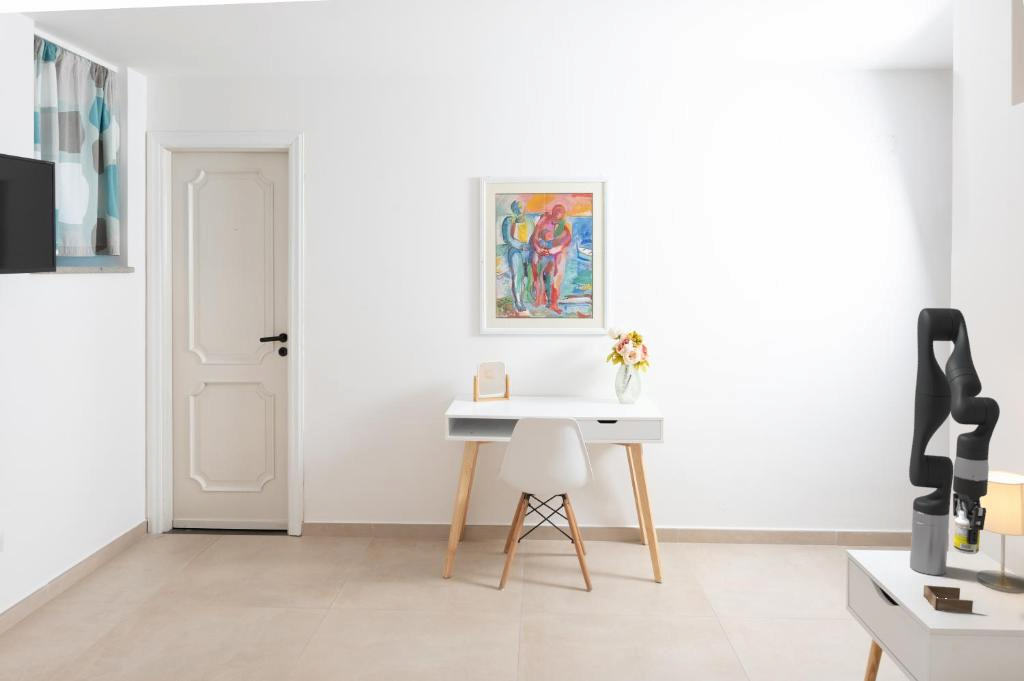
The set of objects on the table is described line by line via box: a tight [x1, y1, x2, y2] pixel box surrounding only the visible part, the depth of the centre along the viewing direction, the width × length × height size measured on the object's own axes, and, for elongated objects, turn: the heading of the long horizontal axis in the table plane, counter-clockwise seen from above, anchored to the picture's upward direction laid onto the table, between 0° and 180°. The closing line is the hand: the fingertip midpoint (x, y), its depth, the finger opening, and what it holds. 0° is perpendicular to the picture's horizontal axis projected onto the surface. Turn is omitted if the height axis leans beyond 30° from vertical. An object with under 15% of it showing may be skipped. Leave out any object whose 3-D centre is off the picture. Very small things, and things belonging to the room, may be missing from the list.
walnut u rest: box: [923, 584, 974, 614], centre depth 202 cm, size 9×9×3 cm
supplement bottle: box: [953, 510, 981, 555], centre depth 200 cm, size 6×6×10 cm
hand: (966, 539), depth 200 cm, fingers closed on supplement bottle, 5 cm apart
